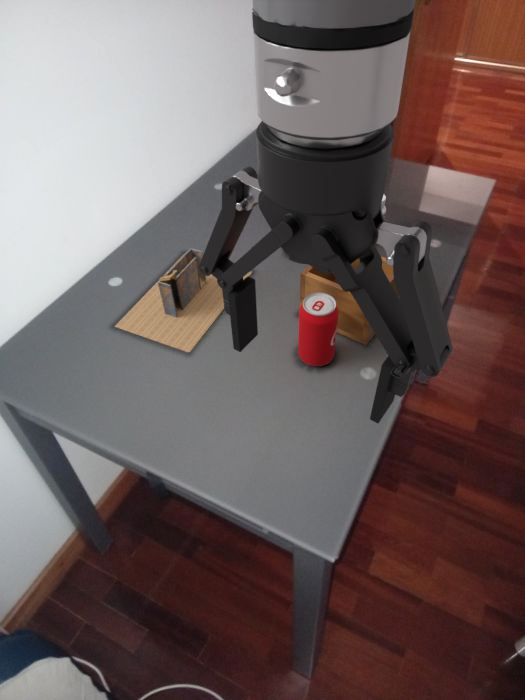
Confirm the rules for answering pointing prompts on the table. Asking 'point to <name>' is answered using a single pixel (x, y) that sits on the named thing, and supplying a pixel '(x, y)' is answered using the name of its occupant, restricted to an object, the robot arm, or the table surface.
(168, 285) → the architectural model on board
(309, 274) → the crate
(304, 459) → the table surface
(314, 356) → the beverage can
